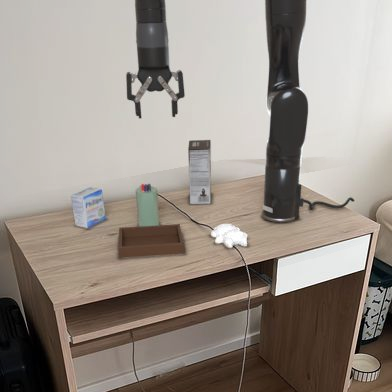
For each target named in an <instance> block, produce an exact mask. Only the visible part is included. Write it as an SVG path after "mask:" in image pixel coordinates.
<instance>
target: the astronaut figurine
mask: <svg viewBox="0 0 392 392" xmlns="http://www.w3.org/2000/svg"><path fill="white" fill-rule="evenodd" d="M210 236H211V238H215V240H214V243H215V244H221V243H222V244H224V246H225V247H227V248H229V249H232V248H233V246H235V245H240V246H241V247H247V246H248V233H246V232H244V231H242V230H241V229H240V228H239V227H237V226H236V225H234V224H232V223H221V224H219V225H216V226H215V227H214V228H213V230H211V232H210Z"/></svg>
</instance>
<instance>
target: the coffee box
mask: <svg viewBox="0 0 392 392" xmlns="http://www.w3.org/2000/svg"><path fill="white" fill-rule="evenodd" d="M187 151H188V152H187V153H188V182H189V183H188V184H189V185H188V186H189V204H190V205H211V203H212V141H211V139H198V140H197V139H196V140H194V139H193V140H189V141H188V148H187Z"/></svg>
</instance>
